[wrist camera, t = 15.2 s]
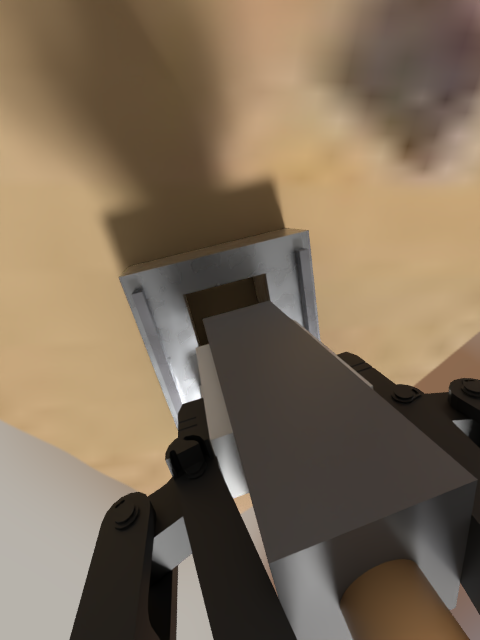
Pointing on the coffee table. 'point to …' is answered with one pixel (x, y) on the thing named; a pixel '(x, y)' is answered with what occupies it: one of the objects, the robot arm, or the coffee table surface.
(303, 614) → the plug
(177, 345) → the socket
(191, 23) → the coffee table surface
